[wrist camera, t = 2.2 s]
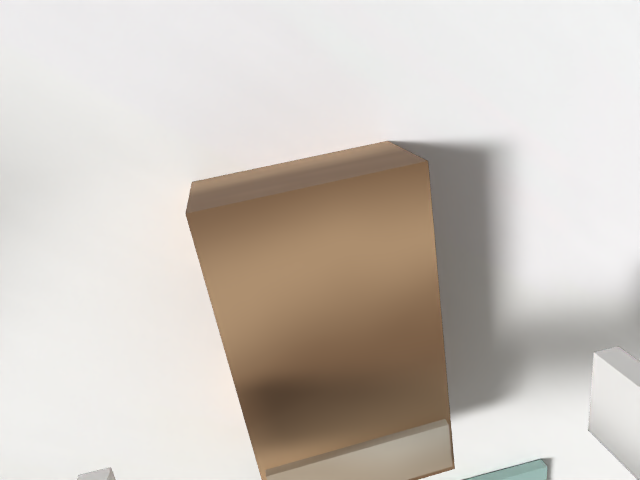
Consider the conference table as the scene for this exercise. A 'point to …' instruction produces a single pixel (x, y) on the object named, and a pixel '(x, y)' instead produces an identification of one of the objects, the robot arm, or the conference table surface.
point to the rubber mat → (518, 472)
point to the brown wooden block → (330, 312)
